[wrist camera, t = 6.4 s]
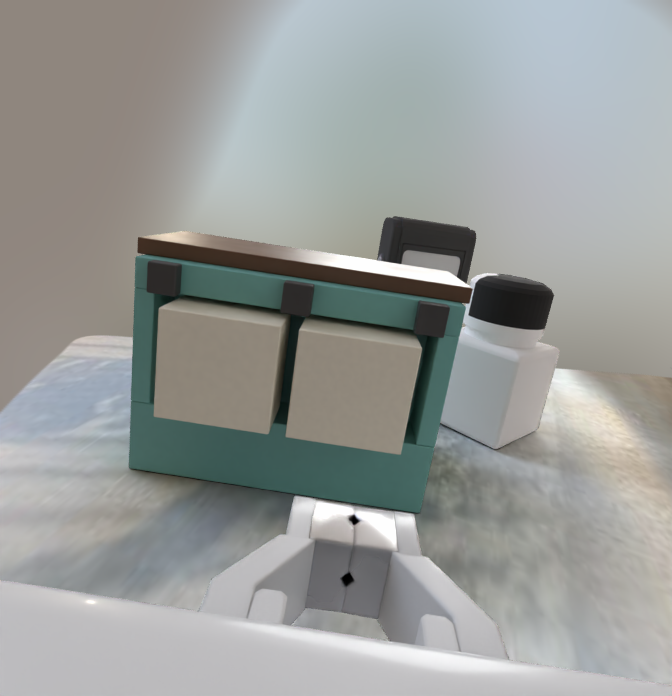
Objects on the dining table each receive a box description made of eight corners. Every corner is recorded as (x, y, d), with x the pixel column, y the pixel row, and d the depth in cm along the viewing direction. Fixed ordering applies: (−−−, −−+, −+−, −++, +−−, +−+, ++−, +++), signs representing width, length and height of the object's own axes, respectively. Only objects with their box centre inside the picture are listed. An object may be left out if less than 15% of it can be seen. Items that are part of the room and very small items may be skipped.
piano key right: (400, 455, 24) (422, 348, 22) (284, 437, 24) (298, 329, 22) (395, 424, 27) (414, 329, 25) (294, 409, 27) (307, 313, 25)
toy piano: (429, 524, 26) (482, 294, 23) (113, 475, 26) (119, 239, 23) (410, 440, 35) (446, 269, 32) (179, 404, 35) (190, 230, 32)
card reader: (368, 368, 50) (395, 216, 46) (357, 355, 54) (380, 214, 50) (449, 373, 52) (481, 229, 48) (433, 360, 56) (462, 226, 52)
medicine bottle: (538, 431, 41) (579, 287, 37) (496, 452, 36) (539, 287, 32) (464, 399, 45) (494, 268, 42) (417, 413, 40) (447, 267, 37)
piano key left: (268, 435, 24) (281, 326, 22) (152, 417, 24) (158, 307, 22) (279, 406, 27) (291, 310, 25) (178, 391, 27) (184, 294, 26)
